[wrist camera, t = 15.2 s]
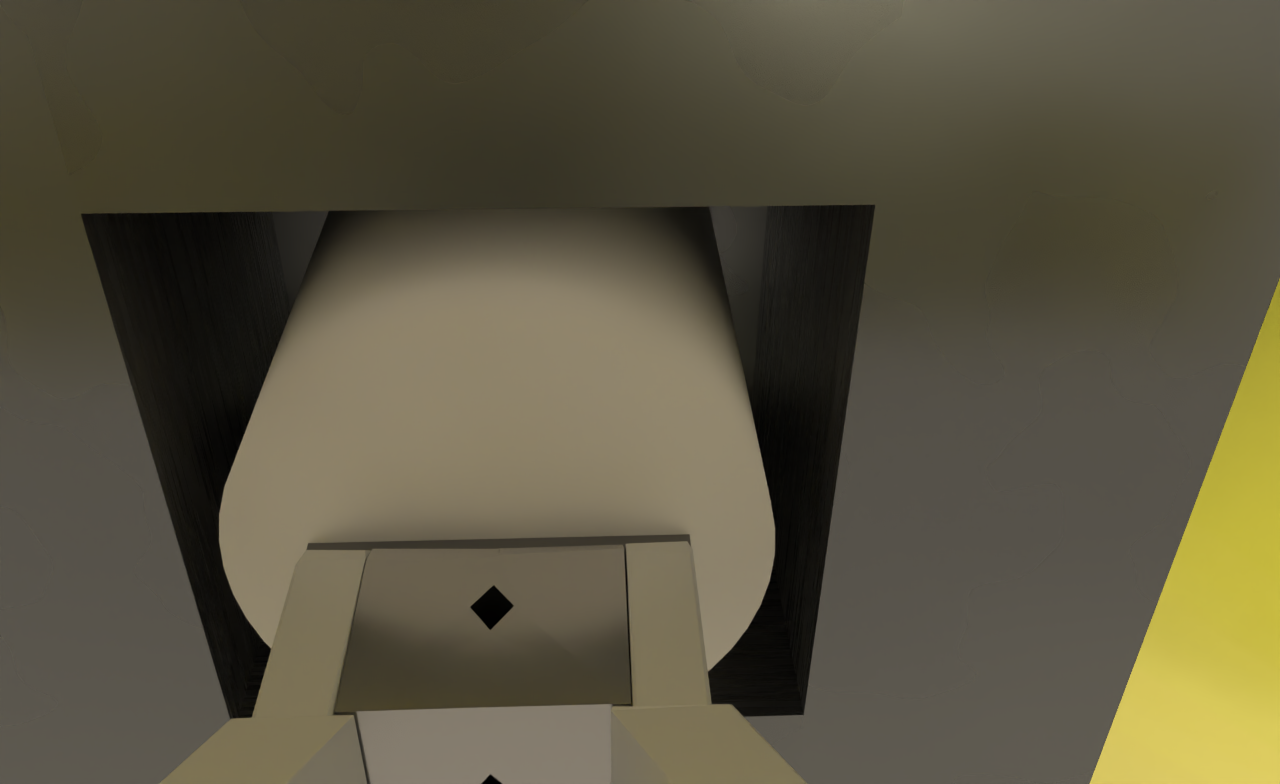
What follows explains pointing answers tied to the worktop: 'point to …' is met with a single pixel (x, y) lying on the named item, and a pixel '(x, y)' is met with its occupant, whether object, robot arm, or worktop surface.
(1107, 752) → the worktop surface
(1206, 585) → the worktop surface
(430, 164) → the console
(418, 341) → the knob
